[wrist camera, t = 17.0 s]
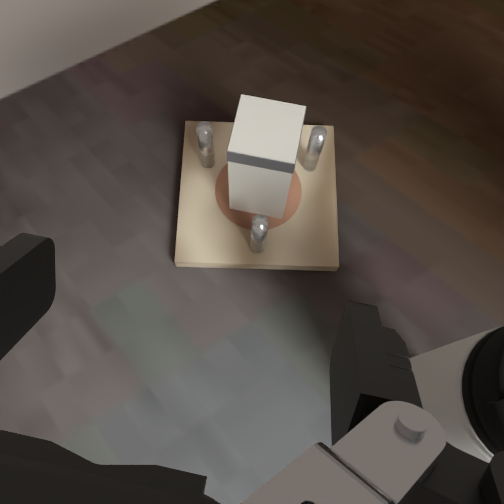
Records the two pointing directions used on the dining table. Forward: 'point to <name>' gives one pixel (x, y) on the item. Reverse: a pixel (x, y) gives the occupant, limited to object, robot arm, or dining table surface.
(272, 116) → the block
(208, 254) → the pin cradle
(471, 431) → the travel mug
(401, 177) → the dining table surface
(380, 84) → the dining table surface
